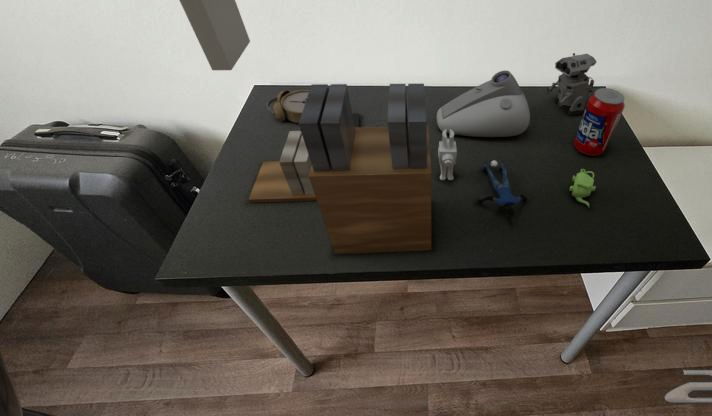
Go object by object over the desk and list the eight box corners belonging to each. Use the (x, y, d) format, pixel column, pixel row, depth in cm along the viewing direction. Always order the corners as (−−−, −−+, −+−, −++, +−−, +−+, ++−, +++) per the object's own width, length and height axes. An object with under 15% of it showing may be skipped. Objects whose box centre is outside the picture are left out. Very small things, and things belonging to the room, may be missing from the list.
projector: (472, 92, 109) (477, 43, 98) (542, 120, 100) (555, 70, 89) (426, 127, 96) (425, 75, 85) (501, 162, 88) (511, 109, 77)
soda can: (610, 154, 91) (635, 101, 80) (585, 161, 89) (606, 107, 78) (591, 136, 96) (612, 83, 85) (566, 142, 94) (584, 89, 83)
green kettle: (588, 208, 79) (597, 189, 74) (564, 200, 80) (571, 181, 76) (593, 190, 83) (601, 171, 78) (569, 183, 84) (576, 164, 80)
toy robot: (453, 164, 87) (456, 121, 78) (455, 186, 82) (458, 144, 73) (437, 164, 87) (438, 121, 78) (438, 187, 81) (439, 144, 73)
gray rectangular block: (231, 70, 55) (185, -38, 45) (212, 70, 55) (161, -38, 45) (250, 41, 62) (213, -59, 52) (233, 41, 62) (193, -59, 51)
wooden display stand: (318, 200, 77) (306, 164, 70) (249, 202, 76) (230, 166, 69) (326, 163, 85) (316, 127, 78) (264, 164, 84) (248, 128, 77)
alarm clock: (323, 114, 93) (260, 106, 90) (324, 130, 97) (263, 123, 94) (329, 91, 101) (270, 83, 98) (329, 106, 104) (272, 99, 101)
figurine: (537, 101, 107) (549, 50, 96) (573, 97, 109) (589, 47, 98) (550, 119, 101) (565, 67, 90) (588, 114, 103) (606, 63, 92)
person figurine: (469, 176, 87) (483, 227, 73) (470, 159, 84) (485, 210, 70) (514, 173, 88) (536, 224, 74) (517, 157, 85) (540, 206, 71)
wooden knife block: (431, 250, 70) (431, 125, 49) (335, 254, 68) (291, 128, 47) (428, 204, 78) (427, 79, 57) (342, 207, 76) (308, 80, 55)
